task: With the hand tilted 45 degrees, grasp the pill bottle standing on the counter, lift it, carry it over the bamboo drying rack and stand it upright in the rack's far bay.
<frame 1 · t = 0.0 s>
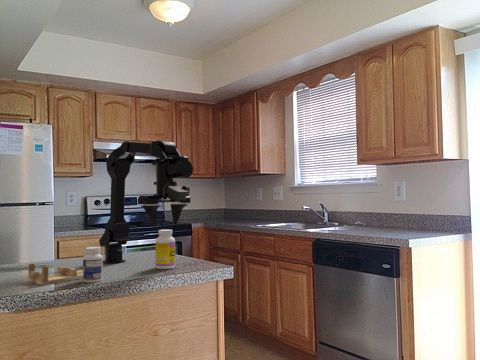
hand: (165, 225, 141), 15 cm above the counter, tool pointing down, fingers open, 9 cm apart
pill bottle: (92, 281, 125), on the counter
supplement bottle: (165, 268, 145), on the counter
rack: (67, 277, 130), on the counter
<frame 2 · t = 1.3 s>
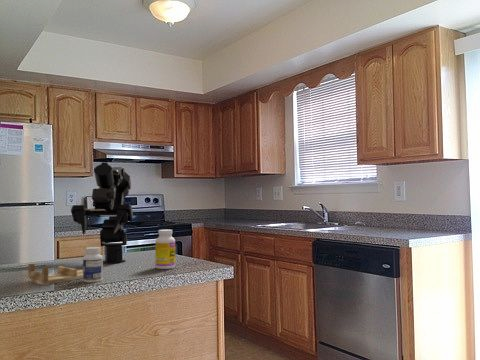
hand: (98, 233, 133), 13 cm above the counter, tool tilted 45°, fingers open, 9 cm apart
nothing on the counter moved.
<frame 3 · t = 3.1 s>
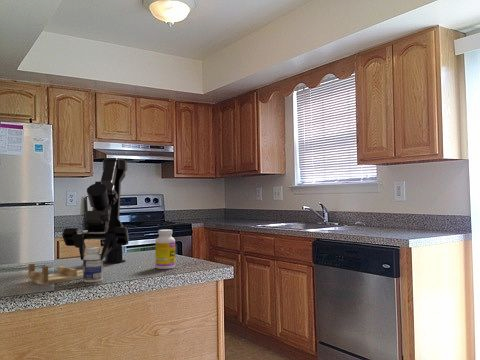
hand: (91, 258, 123), 7 cm above the counter, tool tilted 45°, fingers closed on pill bottle, 5 cm apart
pill bottle: (92, 281, 125), on the counter, touching gripper
everything else where it was.
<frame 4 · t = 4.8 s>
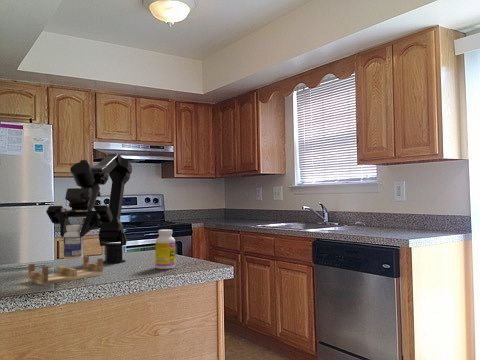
hand: (71, 236, 124), 13 cm above the counter, tool tilted 45°, fingers closed on pill bottle, 5 cm apart
pill bottle: (73, 259, 125), point 6 cm above the counter, touching gripper
everything else where it was.
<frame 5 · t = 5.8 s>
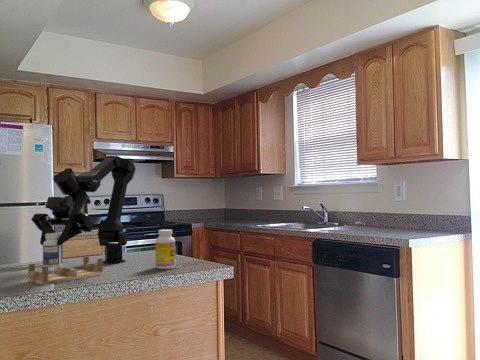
hand: (49, 244, 125), 11 cm above the counter, tool tilted 45°, fingers closed on pill bottle, 5 cm apart
pill bottle: (52, 267, 126), point 4 cm above the counter, touching gripper
everything else where it was.
when the fingers open (9 cm above the counter, at t = 6.5 s): pill bottle drops 1 cm, resting on rack.
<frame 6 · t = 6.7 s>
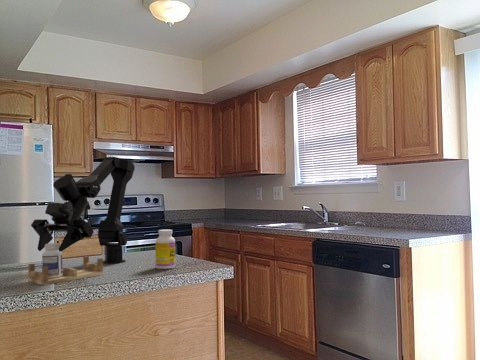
hand: (49, 250, 125), 9 cm above the counter, tool tilted 45°, fingers open, 7 cm apart
pill bottle: (52, 277, 126), point 1 cm above the counter, touching rack
everything else where it was.
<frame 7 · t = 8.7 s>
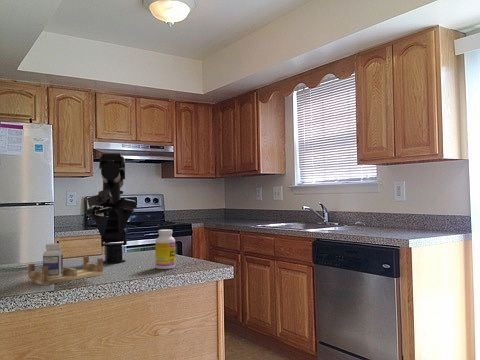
hand: (111, 234, 140), 12 cm above the counter, tool pointing down, fingers open, 9 cm apart
nothing on the counter moved.
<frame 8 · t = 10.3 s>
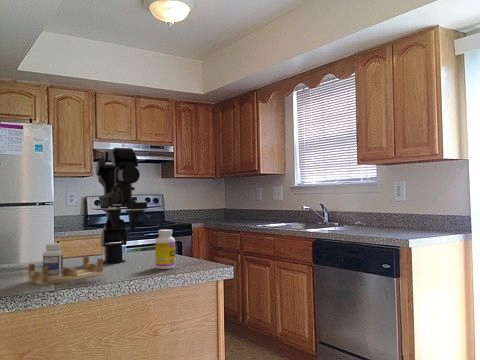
hand: (123, 230, 145), 13 cm above the counter, tool pointing down, fingers open, 9 cm apart
nothing on the counter moved.
at the end: pill bottle inside the target area on the rack (0.2 cm from its centre), point 0.8 cm above the rack's base; pill bottle tilted 0°; the gripper is holding nothing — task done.
